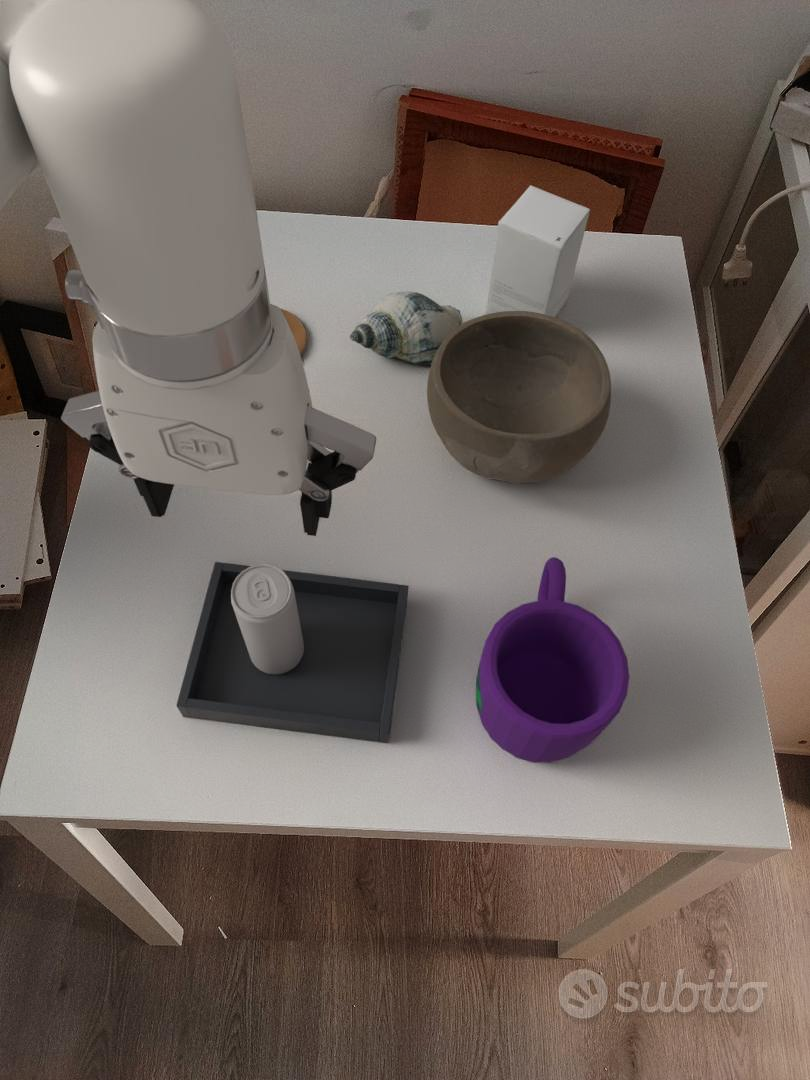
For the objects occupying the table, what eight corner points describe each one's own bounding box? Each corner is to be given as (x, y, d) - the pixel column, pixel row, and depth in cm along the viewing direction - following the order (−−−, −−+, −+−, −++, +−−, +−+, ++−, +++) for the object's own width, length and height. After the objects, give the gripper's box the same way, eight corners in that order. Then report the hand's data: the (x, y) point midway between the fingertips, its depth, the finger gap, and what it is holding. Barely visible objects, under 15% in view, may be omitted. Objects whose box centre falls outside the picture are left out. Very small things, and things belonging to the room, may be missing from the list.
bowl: (452, 354, 92) (460, 285, 83) (609, 399, 89) (634, 332, 80) (400, 475, 83) (403, 412, 75) (571, 528, 81) (595, 469, 72)
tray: (183, 717, 70) (175, 705, 68) (220, 576, 77) (214, 561, 74) (388, 743, 70) (389, 733, 67) (407, 599, 76) (408, 585, 74)
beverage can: (255, 682, 71) (235, 625, 61) (245, 633, 74) (224, 569, 63) (309, 669, 72) (299, 610, 62) (298, 620, 74) (286, 556, 64)
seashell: (458, 374, 92) (350, 366, 92) (462, 309, 93) (355, 301, 93) (463, 356, 86) (348, 347, 86) (467, 286, 87) (353, 278, 86)
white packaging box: (569, 300, 96) (593, 208, 85) (539, 339, 93) (561, 249, 82) (513, 275, 98) (530, 182, 87) (482, 313, 95) (497, 221, 84)
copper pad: (206, 371, 89) (205, 367, 89) (227, 305, 94) (226, 301, 94) (297, 381, 89) (297, 377, 88) (314, 314, 94) (313, 310, 93)
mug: (598, 782, 68) (631, 748, 60) (462, 762, 69) (475, 725, 60) (602, 596, 77) (631, 543, 69) (481, 579, 78) (495, 524, 69)
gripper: (-31, 345, 36) (87, 541, 51) (363, 390, 35) (366, 575, 50) (29, 229, 40) (122, 443, 54) (386, 269, 39) (382, 474, 54)
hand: (239, 506), depth 52 cm, fingers open, 9 cm apart
